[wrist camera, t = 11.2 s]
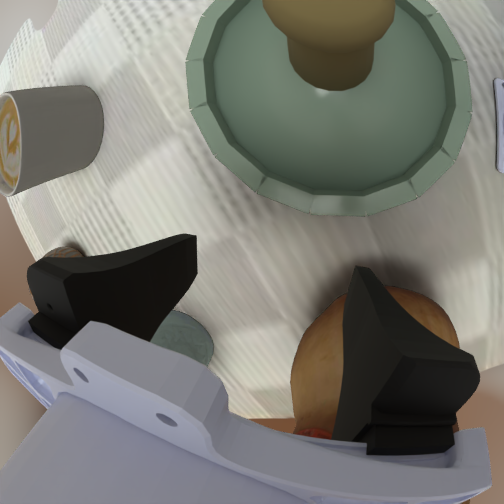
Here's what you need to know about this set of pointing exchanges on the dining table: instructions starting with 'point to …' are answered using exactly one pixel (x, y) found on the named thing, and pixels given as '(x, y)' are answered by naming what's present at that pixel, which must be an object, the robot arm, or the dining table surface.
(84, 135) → the coffee mug
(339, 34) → the olive brown knobbed peg
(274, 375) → the dining table surface
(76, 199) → the dining table surface
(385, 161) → the round tray
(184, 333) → the teal tapered cup
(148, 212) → the dining table surface
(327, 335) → the butternut squash
